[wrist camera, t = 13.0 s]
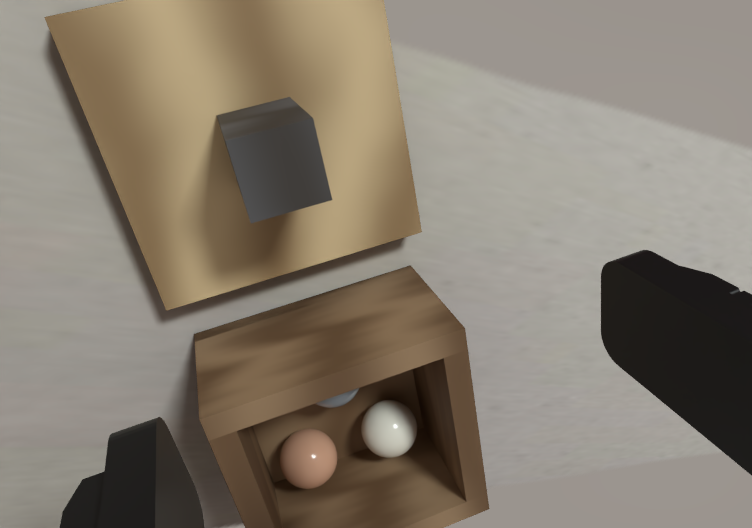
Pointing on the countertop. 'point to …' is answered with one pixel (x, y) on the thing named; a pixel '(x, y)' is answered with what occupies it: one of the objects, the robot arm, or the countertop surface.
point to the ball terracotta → (308, 458)
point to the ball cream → (389, 428)
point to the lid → (244, 133)
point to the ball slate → (338, 399)
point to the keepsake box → (345, 407)
